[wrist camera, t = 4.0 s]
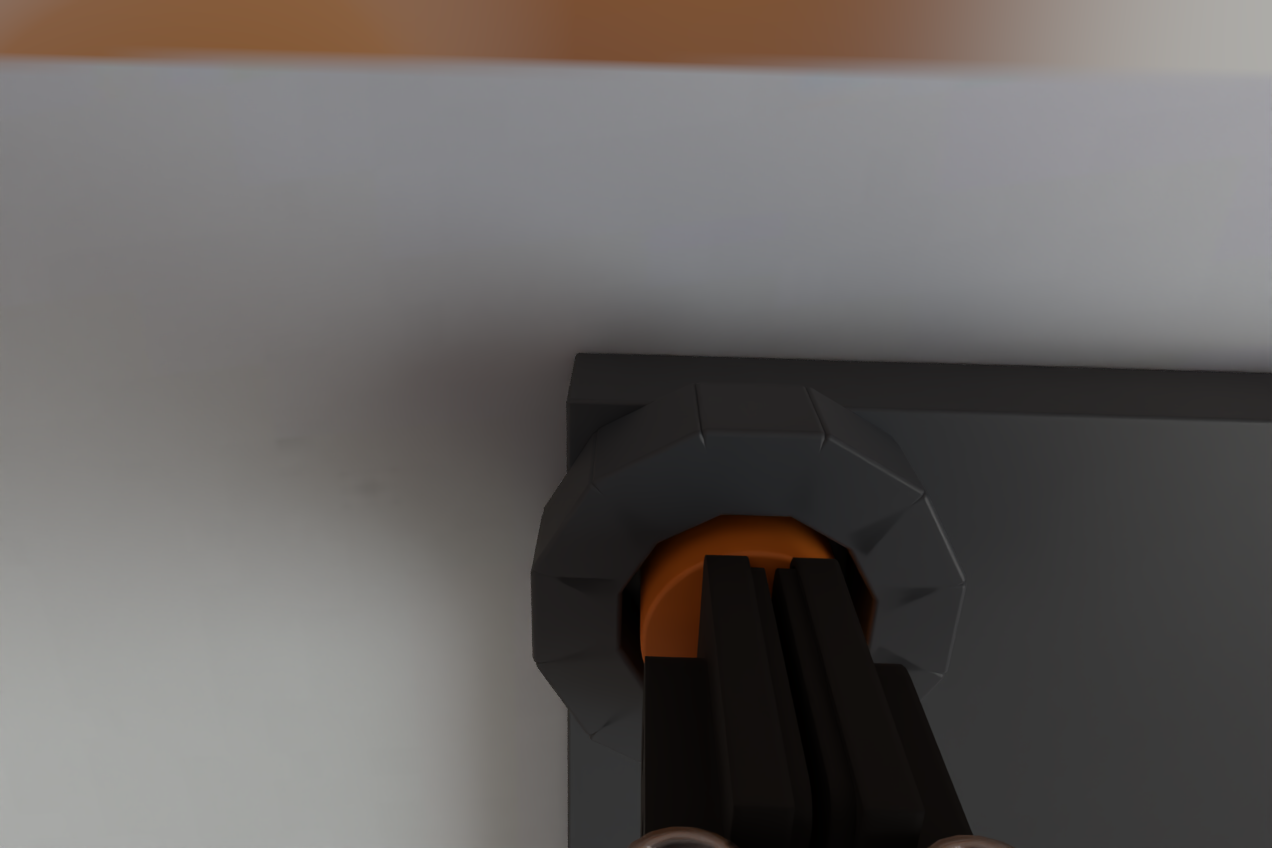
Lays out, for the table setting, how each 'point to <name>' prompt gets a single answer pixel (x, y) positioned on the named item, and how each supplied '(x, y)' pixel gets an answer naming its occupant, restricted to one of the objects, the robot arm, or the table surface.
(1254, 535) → the scale
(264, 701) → the table surface
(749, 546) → the button
